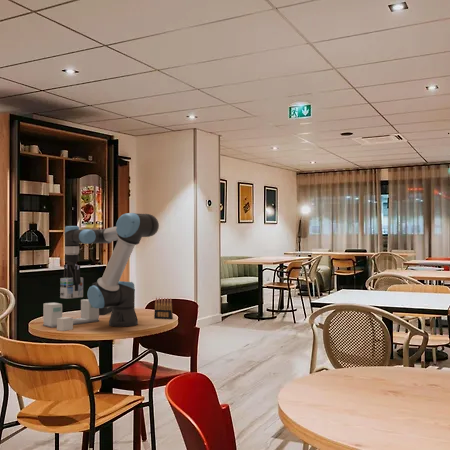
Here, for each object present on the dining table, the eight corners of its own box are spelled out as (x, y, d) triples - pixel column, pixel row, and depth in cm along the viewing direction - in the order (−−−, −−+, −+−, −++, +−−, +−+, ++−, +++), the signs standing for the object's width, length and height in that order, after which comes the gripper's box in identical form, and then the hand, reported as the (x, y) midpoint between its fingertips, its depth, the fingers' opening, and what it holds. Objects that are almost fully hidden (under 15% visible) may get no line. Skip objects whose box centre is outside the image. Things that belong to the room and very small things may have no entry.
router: (113, 310, 324) (113, 279, 325) (103, 315, 306) (103, 281, 307) (101, 310, 325) (101, 279, 326) (90, 315, 307) (90, 281, 308)
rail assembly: (99, 321, 285) (99, 300, 285) (51, 327, 265) (51, 305, 265) (90, 319, 292) (90, 298, 292) (42, 325, 272) (43, 303, 272)
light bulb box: (67, 299, 272) (67, 278, 273) (59, 298, 276) (59, 278, 277) (83, 297, 281) (83, 277, 281) (76, 296, 285) (76, 276, 285)
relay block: (72, 329, 260) (72, 317, 260) (63, 331, 255) (63, 319, 256) (66, 328, 263) (66, 316, 263) (56, 330, 258) (56, 318, 258)
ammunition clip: (154, 318, 293) (154, 297, 293) (155, 318, 295) (155, 297, 295) (171, 319, 290) (171, 298, 290) (172, 318, 292) (172, 297, 292)
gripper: (87, 254, 275) (87, 297, 274) (69, 253, 289) (69, 294, 288) (74, 254, 269) (74, 298, 269) (56, 254, 284) (56, 295, 283)
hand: (71, 296), depth 279 cm, fingers closed on light bulb box, 7 cm apart
